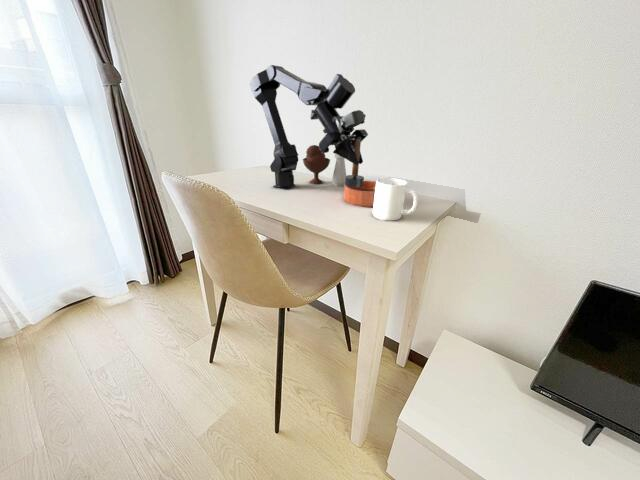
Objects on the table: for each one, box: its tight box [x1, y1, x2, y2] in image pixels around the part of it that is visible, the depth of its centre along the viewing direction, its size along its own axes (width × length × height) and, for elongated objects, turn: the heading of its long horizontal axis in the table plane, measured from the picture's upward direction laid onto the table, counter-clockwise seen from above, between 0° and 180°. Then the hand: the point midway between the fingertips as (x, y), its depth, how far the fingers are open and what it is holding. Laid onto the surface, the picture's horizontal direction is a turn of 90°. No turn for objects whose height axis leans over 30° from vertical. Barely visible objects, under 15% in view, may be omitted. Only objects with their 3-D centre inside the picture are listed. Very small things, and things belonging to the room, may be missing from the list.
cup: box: [372, 177, 419, 222], centre depth 72 cm, size 8×12×10 cm
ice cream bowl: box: [302, 144, 331, 185], centre depth 105 cm, size 11×11×15 cm
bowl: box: [342, 180, 376, 208], centre depth 87 cm, size 14×14×5 cm
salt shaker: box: [332, 154, 347, 187], centre depth 102 cm, size 6×6×13 cm
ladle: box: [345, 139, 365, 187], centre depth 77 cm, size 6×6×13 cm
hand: (359, 163), depth 76 cm, fingers closed on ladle
